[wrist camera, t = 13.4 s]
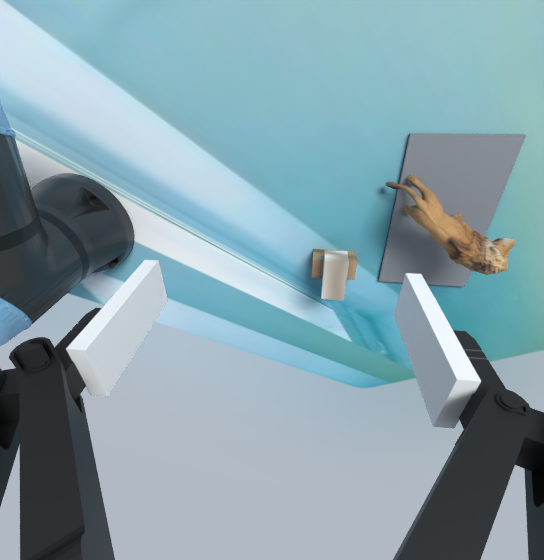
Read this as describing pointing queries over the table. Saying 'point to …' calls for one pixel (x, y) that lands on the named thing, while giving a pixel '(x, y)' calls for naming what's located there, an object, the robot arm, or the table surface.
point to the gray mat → (447, 199)
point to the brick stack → (333, 271)
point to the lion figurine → (455, 232)
